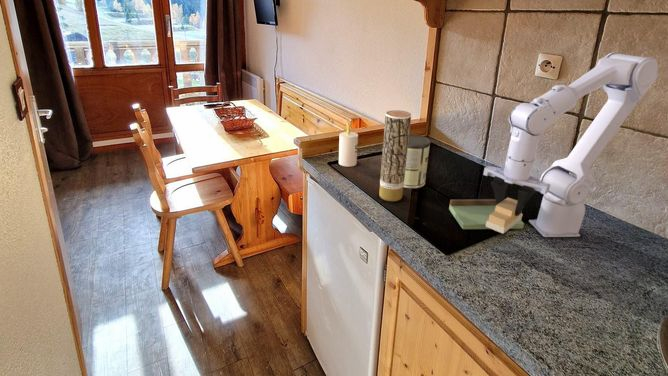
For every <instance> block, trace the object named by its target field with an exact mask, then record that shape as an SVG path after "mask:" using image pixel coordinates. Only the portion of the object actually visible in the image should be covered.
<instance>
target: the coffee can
mask: <svg viewBox="0 0 668 376" xmlns="http://www.w3.org/2000/svg"><path fill="white" fill-rule="evenodd" d="M431 143H432V140H431V139H430V138H428V137H426V136H423V135H419V134H409V141H408V150H407V159H406V169H405V178H404V186H403V188H405V189H420V188H422V187H424V186H425V185H426V179H427V172H428V171H427V169H428V163H429V153H430V146H431Z"/></svg>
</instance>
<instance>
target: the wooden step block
mask: <svg viewBox="0 0 668 376" xmlns="http://www.w3.org/2000/svg"><path fill="white" fill-rule="evenodd" d="M504 199H505V200H503V201H502V202H500V203H499V204H497V205H496V208H495V211H494V212H493V213H491V214H490V215H489V220H487V221H486V227H488V228H490V229H489V230H493V231H495V232H498V233H501V234H505V233H506V232H507V231H509V230H511V229H510V228H511V227H512V226H514V225H515V224H516V223H517V222H519V221H520V220H521V221H522V218H523V215H524V214H523V213H522V211H523V210H522V211H521V214H519V215H518V216H515V209H516V206H517V201H518V199H514V198H511V197H506V198H504Z"/></svg>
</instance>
